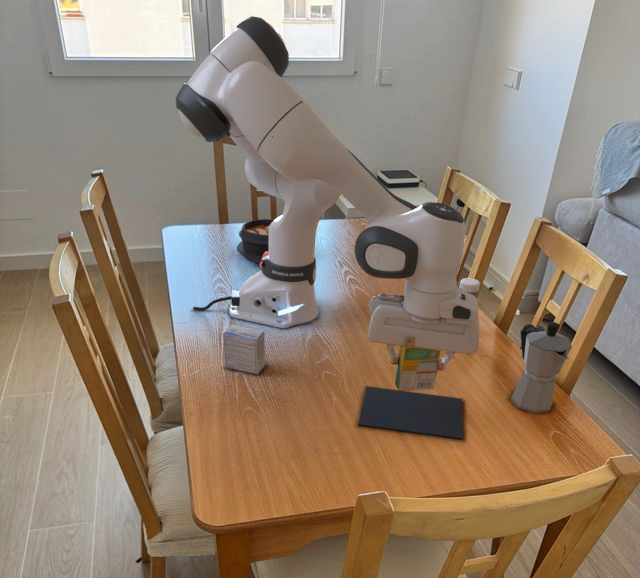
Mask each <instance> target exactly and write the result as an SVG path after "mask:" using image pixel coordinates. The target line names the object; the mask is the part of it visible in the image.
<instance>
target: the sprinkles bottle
mask: <svg viewBox="0 0 640 578" xmlns="http://www.w3.org/2000/svg"><path fill="white" fill-rule="evenodd" d="M480 287H481V282H480V281H479V280H478V279H475V278H472V277H464V278H462V279H461V280H460V283H459V289H460V290H462V291H465V292H467V293H469V294H472V295H474V296H475V297H476V299H478V298H477V297H478V293H479V291H480Z"/></svg>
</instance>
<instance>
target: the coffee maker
mask: <svg viewBox="0 0 640 578" xmlns="http://www.w3.org/2000/svg"><path fill="white" fill-rule="evenodd" d="M560 327H561V325H560V323H559V322H556V321H549V322H547V327H546V330H545V328H544V327H543V326H542V325H539V326H537V327H536V326H535V325H534V324H533V323H531V324H530V323H529V324H525V325H524V326H523V327H522V329H521V331H520V333H519V334H520V343H521V344H520V345H521V357H522V360H523V366H524V369H523V371H522V373H521V376H520V378H519V380H518V382H517V384H516V386H515V388H514V390H513V392H512V395H511V397H510V399H509V400H510V401H511V402H512V403H513V404H514V405H515V406H516V407H517V408H518V409H520V410H523V411H526V412H529V413H533V414H540V413H546V412H547V413H548V412H550V411H551V409H552V406H553V405H554V404H553V403H554V397H555V387H556V379H557V375H558V374H560V372H561V370H562V368H563V367H564V364H565V362H566V360H568V359H569V358H568V356H569V354H570V352H571V350H572V348H573V345H572V342H571V341H570V339H569V338H568V337H567V336H565V335H562V334H560V333H558V331H559V330H560Z"/></svg>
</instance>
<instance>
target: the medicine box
mask: <svg viewBox="0 0 640 578" xmlns="http://www.w3.org/2000/svg"><path fill="white" fill-rule="evenodd" d="M265 339H266V337H265V331H264V330H261V329H260V330H259V329H256V328H250V327H246V326H240V325H235V324H231V325H230V326H229V327H227V328H226V329H225V331H223V333H222V343H223V358H224V359H223V360H224V368H225V369H231V370H235V371H240V372H243V373H249V374H254V375H259V374H260V372H261V371H262V370H263V369H264V368H265V366H266V347H265V346H266V345H265V342H266V341H265Z"/></svg>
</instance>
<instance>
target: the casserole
mask: <svg viewBox="0 0 640 578" xmlns="http://www.w3.org/2000/svg"><path fill="white" fill-rule="evenodd" d="M274 220H275V219H269V218H260V219H254V220H250V221H246V222H245V223H244V224H243V225H242V226H241V229H240V230H239V232H238V236H239V237H240V239H241V241H240V242H239V243H238V244H237V246H236V251H237V252H238V253H239V254H240V255H242V256H243V257H246V258H248V259H250V260H251V261H252V262H254V263H256V264H260V263H261V259H262V256H263V254H264V253H265V252H266V251H269V226H270V224H271V223H272V222H273V221H274Z"/></svg>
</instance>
